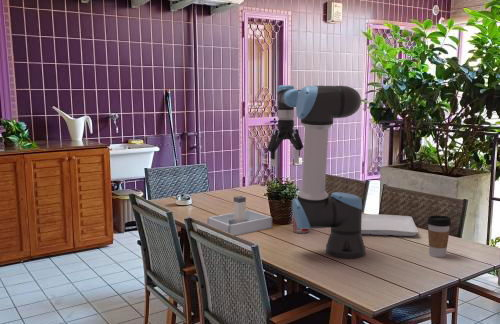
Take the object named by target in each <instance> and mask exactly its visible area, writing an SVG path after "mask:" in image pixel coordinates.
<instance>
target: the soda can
mask: <svg viewBox="0 0 500 324" xmlns="http://www.w3.org/2000/svg"><path fill="white" fill-rule="evenodd" d="M292 230H293V231H294V233H297V234H307V233H308V232H309V231H310V229H301V228H299V227H298V226H297V225H296V222H295V220H294V216H293V215H292Z"/></svg>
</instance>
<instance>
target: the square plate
mask: <svg viewBox="0 0 500 324" xmlns="http://www.w3.org/2000/svg"><path fill="white" fill-rule="evenodd" d="M370 234H371V236H388V235H393V236H392V237H413V236H415V235H417V234H419V230H418V227H417V225H416V224H415V221H414V219H413V217H412V216H409V215H408V216H407V215H399V214H398V215H395V214H381V213H380V214H379V213H378V214H377V213H376V214H375V213H374V214H371V213H370V214H369V213H368V214H366V213H365V214H364V213H362V224H361V235H369V236H370Z"/></svg>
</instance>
